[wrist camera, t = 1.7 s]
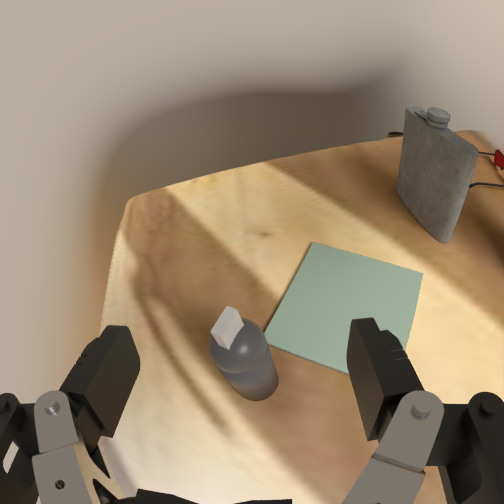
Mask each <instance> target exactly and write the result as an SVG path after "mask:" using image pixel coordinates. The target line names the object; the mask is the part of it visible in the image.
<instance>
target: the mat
mask: <svg viewBox="0 0 504 504" xmlns="http://www.w3.org/2000/svg"><path fill="white" fill-rule="evenodd" d="M422 276H423V273H420V272H417V271H413V270H410V269H407V268H403V267H400V266H397V265H393V264H390V263H386V262H383V261H379V260H376V259H372V258H369V257H365V256H362V255H358V254H355V253H351V252H348V251H344V250H340V249H337V248H333V247H330V246H326V245H322V244H319V243H315V242H313V243H312V245H311V247H310V249H309V251H308V253H307V255H306V257H305V259H304V261H303V263H302V264H301V266H300V268H299V270H298V272H297V274H296V276H295V278H294V280H293V281H292V283H291V285H290V287H289V289H288V291H287V293H286V294H285V296H284V298H283V300H282V302H281V304H280V306H279V307H278V309H277V311H276V313H275V315H274V316H273V318H272V320H271V322H270V324H269V325H268V327H267V329H266V331H265V333H264V335H265V337H266V341H267V344H268V345H270V346H272V347H275V348H277V349H280V350H283V351H285V352H288V353H290V354H293V355H295V356H298V357H301V358H303V359H306V360H308V361H311V362H314V363H317V364H319V365H322V366H325V367H328V368H330V369H333V370H336V371H339V372H342V373H345V374H347V375H349V372H348V368H347V361H346V354H347V346H348V339H349V332H350V324H351V321H352V319H360V318H369V317H373V318H374V319H375V321H376V323H377V325H378V327H379V329H380V331H381V330H389V331H390V332H391V333H392V334H394V335H395V336H396V337H397V338H398V339H399V341H400V343H401V345H402V347H403V350H404V351H405V349H406V345H407V341H408V338H409V334H410V330H411V326H412V322H413V318H414V314H415V310H416V305H417V301H418V296H419V291H420V286H421V281H422Z"/></svg>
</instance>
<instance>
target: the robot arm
mask: <svg viewBox="0 0 504 504" xmlns="http://www.w3.org/2000/svg"><path fill="white" fill-rule="evenodd" d="M346 361H347V368H348V372H349V375H350V379H351V382H352V386H353V389H354V393H355V396H356V400H357V403H358V407H359V411H360V415H361V418H362V422H363V426H364V430H365V434H366V438H367V441H371V440H376V439H378V442H379V445H378V447H377V449H376V450H375V452H374V454H373V455H372V456H371V458H370V460H369V461H368V463H367V465H366V466H365V468H364V470H363V471H362V473H361V475H360V476H359V478H358V479H357V481H356V482H355V484H354V486H353V487H352V489H351V490H350V492H349V493H348V495H347V496H346V498H345V499H344V500H343V502H342V503H341V504H413V502H414V500H415V498H416V496H417V494H418V492H419V489H420V487H421V485H422V483H423V480H424V477H425V472H424V468H425V466H438V469H439V473H440V476H441V480H442V484H443V488H444V492H445V496H446V500H447V504H504V402H503V401H502V400H501V398H500V397H498V396H497V395H495V394H493V393H490V392H480V393H477V394H476V395H474V396H473V397H472V398H471V400H470V401H469V403H468V404H444V403H442V402H441V400H440V399H439V398H438V397H437V396H436V395H434V394H433V393H430V392H427V391H425V390H424V388H423V386H422V384H421V382H420V380H419V378H418V376H417V374H416V372H415V370H414V368H413V366H412V364H411V362H410V360H409V359H408V356H407V354H406V352H405V351H404V350H403V347H402V345H401V343H400V341H399V339H398V338H397V337H396V336H395V335H394V334H392V333H391V332H390V331H389V330H381V331H380V329H379V327H378V325H377V323H376V321H375V319H374V318H373V317H369V318H360V319H352V321H351V324H350V332H349V339H348V346H347V354H346ZM139 371H140V357H139V354H138V352H137V349H136V346H135V344H134V341H133V338H132V335H131V332H130V330H129V328H128V327H127V326H115V325H108V326H107V327H106V328H105V329H104V331H103V332H102V334H101V335H100V337H99V338H96V339H94V340H93V341H92V342H91V343H89V344H88V345H87V346H86V348H85V349H84V351H83V352H82V354H81V357H79V359H78V360H77V362H76V364H75V365H74V366H73V368H72V369H71V371H70V373H69V374H68V376H67V378H66V379H65V381H64V382H63V384H62V386H61V387H60V389H59V391H50V392H47V393H45V394H43V395H42V396H40V398H39V399H38V400H37V401H36V403H32V404H21V403H20V402H19V401H18V399H17V398H16V397H15V395H13V394H11V393H4V394H1V395H0V504H36V502H37V499H38V496H39V497H40V501H41V504H198V503H195V502H192V501H189V500H186V499H183V498H180V497H178V496H175V495H172V494H165V493H159V492H153V491H148V490H143V489H138V491H137V495H136V497H127V498H126V496H125V495H124V493H123V492H122V490H121V489H120V488H119V486H118V484H117V483H116V480H115V478H114V476H113V474H112V471H111V469H110V466H109V464H108V462H107V459H106V456H105V454H104V451H103V449H102V446H101V444H100V443H99V439H100V437H101V435H102V436H106V437H111V438H113V435H114V433H115V430H116V428H117V425H118V423H119V420H120V418H121V415H122V413H123V410H124V408H125V405H126V403H127V400H128V398H129V395H130V393H131V391H132V388H133V386H134V383H135V381H136V379H137V376H138V374H139ZM12 441H13V442H14V443H15V444H16V445H17V447H18V448H19V449H18V451H17V454H16V456H15V458H14V460H13V462H12V465H11V467H10V470H9V472H8V474H7V473H6V472H5V470H4V468H3V459H4V457H5V455H6V453H7V451H8V449H9V447H10V445H11V443H12ZM235 504H292V499H285V500H251V501H246V502H241V503H235Z"/></svg>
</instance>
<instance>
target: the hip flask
mask: <svg viewBox="0 0 504 504" xmlns="http://www.w3.org/2000/svg"><path fill="white" fill-rule="evenodd" d="M449 121H450V114H449V113H448V112H446V111H445V110H442V109H439V108H433V107H432V108H428V110H427V112H426V111H425V110H423V109H422V108H421V107H418V106H414V105H408V106H406V111H405V124H404V134H403V143H402V152H401V160H400V168H399V175H398V182H397V188H396V191H397V193H398V195H399V197H400V198H401V200H402V201H403V203H404V204H405V206H406V207H407V208H408V210H409V211H410V212H411V213H412V215H413V216H414V217H415V218H416V219H417V221H418V222H419V223H420V224H421V225H422V226H423V227H424V228H425V229H426V230H427V231H428V232H429V233H430V234H431V235H432V236H433V237H434V238H435V239H436V240H437V241H438V242H440V243H448V242H449V241H450V239H451V237H452V234H453V232H454V229H455V226H456V224H457V221H458V218H459V215H460V213H461V210H462V207H463V204H464V201H465V198H466V195H467V192H468V189H469V185H470V182H471V179H472V175H473V172H474V168H475V165H476V161H477V157H478V153H479V151H478V149H477V148H476V147H475V146H474V145H472V144H471V143H469V142H468V141H466V140H464V139H463V138H461V137H460V136H458V135H457V134H455V133H454V132H453V131H451V130H450V129H448V128H447V126H448V122H449Z"/></svg>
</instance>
